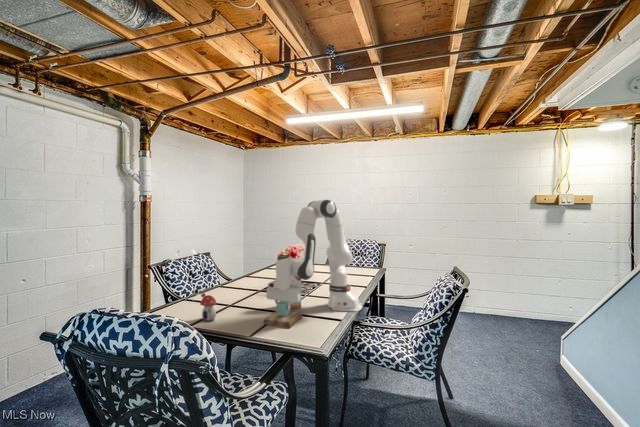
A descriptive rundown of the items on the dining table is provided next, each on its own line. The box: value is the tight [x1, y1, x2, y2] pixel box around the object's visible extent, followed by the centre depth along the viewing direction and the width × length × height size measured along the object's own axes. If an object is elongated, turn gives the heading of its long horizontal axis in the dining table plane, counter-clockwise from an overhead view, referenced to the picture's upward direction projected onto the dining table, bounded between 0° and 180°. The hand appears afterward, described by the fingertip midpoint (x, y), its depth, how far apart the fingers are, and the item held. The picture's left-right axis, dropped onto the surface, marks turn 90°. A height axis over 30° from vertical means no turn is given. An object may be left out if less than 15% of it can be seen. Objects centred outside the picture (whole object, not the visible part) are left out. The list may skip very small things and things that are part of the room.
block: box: [277, 301, 291, 317], centre depth 171 cm, size 5×5×7 cm
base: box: [263, 309, 303, 329], centre depth 171 cm, size 16×16×3 cm
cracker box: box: [278, 276, 302, 309], centre depth 192 cm, size 14×6×21 cm, turn 95°
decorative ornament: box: [199, 293, 217, 323], centre depth 171 cm, size 9×6×15 cm
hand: (283, 308), depth 170 cm, fingers closed on block, 5 cm apart
